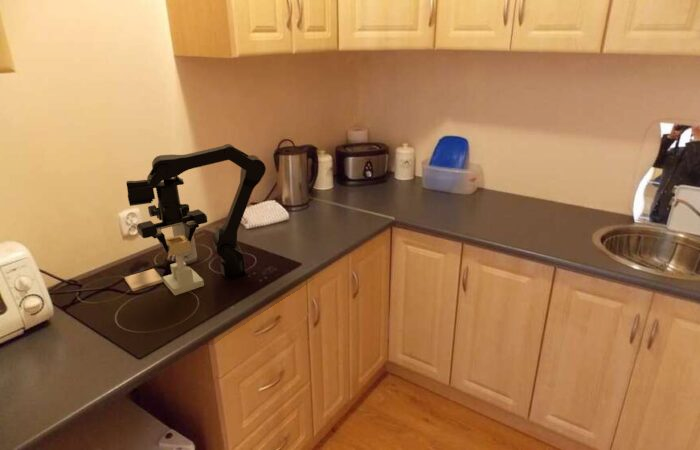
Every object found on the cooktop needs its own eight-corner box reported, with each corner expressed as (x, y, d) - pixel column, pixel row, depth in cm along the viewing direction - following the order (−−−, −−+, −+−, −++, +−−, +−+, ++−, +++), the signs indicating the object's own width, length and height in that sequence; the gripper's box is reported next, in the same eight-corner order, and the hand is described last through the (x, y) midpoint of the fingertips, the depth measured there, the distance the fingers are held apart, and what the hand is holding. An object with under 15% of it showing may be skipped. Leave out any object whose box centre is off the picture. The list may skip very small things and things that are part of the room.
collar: (183, 243, 142) (182, 234, 141) (191, 250, 138) (189, 241, 137) (164, 249, 139) (162, 239, 138) (170, 255, 135) (169, 246, 133)
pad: (154, 271, 151) (153, 268, 151) (163, 281, 144) (162, 279, 144) (124, 280, 146) (124, 277, 146) (132, 291, 139) (132, 288, 139)
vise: (192, 273, 149) (187, 245, 145) (204, 285, 142) (199, 256, 138) (163, 282, 144) (158, 253, 140) (174, 295, 137) (169, 265, 133)
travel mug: (190, 265, 154) (181, 209, 146) (174, 263, 156) (164, 207, 148) (202, 257, 160) (193, 203, 152) (185, 255, 162) (176, 201, 154)
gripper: (190, 187, 144) (197, 233, 150) (126, 200, 133) (137, 249, 139) (204, 196, 135) (211, 244, 141) (138, 210, 125) (148, 262, 131)
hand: (177, 249), depth 138 cm, fingers closed on collar, 6 cm apart
